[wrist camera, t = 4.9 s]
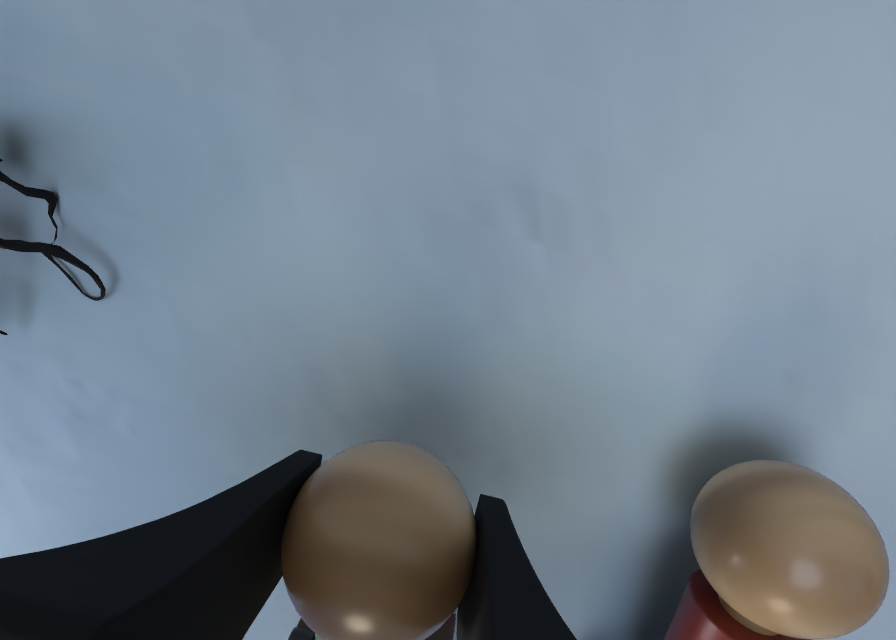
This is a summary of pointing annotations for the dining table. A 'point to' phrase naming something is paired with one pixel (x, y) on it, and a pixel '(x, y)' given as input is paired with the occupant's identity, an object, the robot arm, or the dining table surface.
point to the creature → (43, 247)
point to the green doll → (379, 544)
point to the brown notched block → (304, 636)
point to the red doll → (779, 558)
